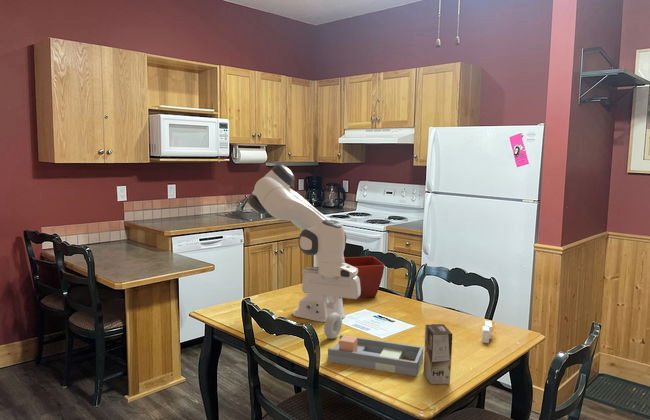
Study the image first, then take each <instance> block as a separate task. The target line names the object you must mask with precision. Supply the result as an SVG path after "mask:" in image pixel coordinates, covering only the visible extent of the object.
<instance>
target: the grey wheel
mask: <svg viewBox="0 0 650 420" xmlns="http://www.w3.org/2000/svg"><path fill="white" fill-rule="evenodd" d="M342 320H343V318H342V319H341V316H340V315H339V314H338V313H336V312H334V313H331V314H330V315H329V316H328V317H327V319H326V321H325V322H324V324H323V333H324V335H325V336H326V338H327V339H329V340H333V339H336V338H337V337H338V336H339V334H340V332H341V329H342V327H343V326H342V325H343V321H342Z"/></svg>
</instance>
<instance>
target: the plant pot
mask: <svg viewBox="0 0 650 420" xmlns="http://www.w3.org/2000/svg"><path fill="white" fill-rule="evenodd" d="M344 259H345V263H347V264H349V265H351V266H353V267H356V268H357V269H358V273H357V276H358V277H359V279H360V287H361V294H360V296H359V297H358V298H357V299H359V298H363V299H364V298H375V297H376V296H377V294H378V292H379V289H380V286H381V282H382V279H383V275H384V270H385V264H384V263H383V262H381V261H380V260H379V259H377V258H376V257H375V256H352V257H351V256H350V257H349V256H348V257H346V256H345V257H344Z"/></svg>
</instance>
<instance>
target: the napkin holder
mask: <svg viewBox="0 0 650 420" xmlns="http://www.w3.org/2000/svg"><path fill="white" fill-rule="evenodd" d="M481 333H482V334H481V342H482V343H485V344H489V343H490V340H492V338H493V323H492V320H484V325H482V330H481Z"/></svg>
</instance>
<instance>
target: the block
mask: <svg viewBox="0 0 650 420" xmlns="http://www.w3.org/2000/svg"><path fill="white" fill-rule="evenodd" d="M343 335H344V334H343ZM338 342H339V350H345V351H351V352H357V343H358V336H352V335H351V336H350V335H346V336H345V335H344V336H343V337H342V338H341V339H340V338H339V340H338Z"/></svg>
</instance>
